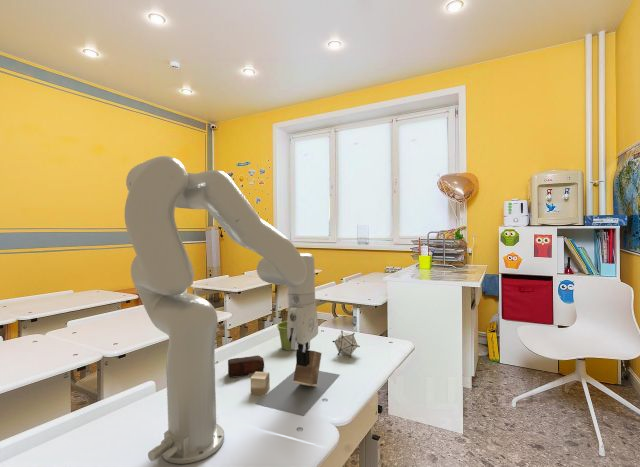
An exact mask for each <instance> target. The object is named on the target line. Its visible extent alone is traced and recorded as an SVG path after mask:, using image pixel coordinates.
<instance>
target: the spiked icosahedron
mask: <svg viewBox="0 0 640 467" xmlns="http://www.w3.org/2000/svg"><path fill="white" fill-rule="evenodd" d="M355 334H356V333H355V332H353V333H347V332H344V331H343V330H341V333H340V334H339V336H338V337H337V338H336V339H335V340H332V343H334V345H335V347H336V350H337V351H338V353H337V356H339V355H340V354H341V355H344V356H349V358H352V354H354V352H355V351H356V349H357V348H360V347H361V346H360V345H358V343H357V340H356V337H355V336H354V335H355Z"/></svg>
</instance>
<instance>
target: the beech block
mask: <svg viewBox="0 0 640 467" xmlns="http://www.w3.org/2000/svg"><path fill="white" fill-rule="evenodd" d="M249 380H250V395H251V396H252V395H253V396H263V397H264V396H265V395H266V394H268V393H269V391H270V389H271V386H270V371H268V372H267V371H262V372H255V373H252V375H251V377H250V379H249Z"/></svg>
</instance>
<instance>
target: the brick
mask: <svg viewBox="0 0 640 467" xmlns="http://www.w3.org/2000/svg"><path fill="white" fill-rule="evenodd" d="M264 369H265V360H264V357H262V356H260V355H251V356H245V357H236V358H235V357H234V358H230V359H227V373H228V376H229V378H230V379H232V378H239V377H247V376H248V375H251V374H252V375H253V374H254V373H255V372H264Z"/></svg>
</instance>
